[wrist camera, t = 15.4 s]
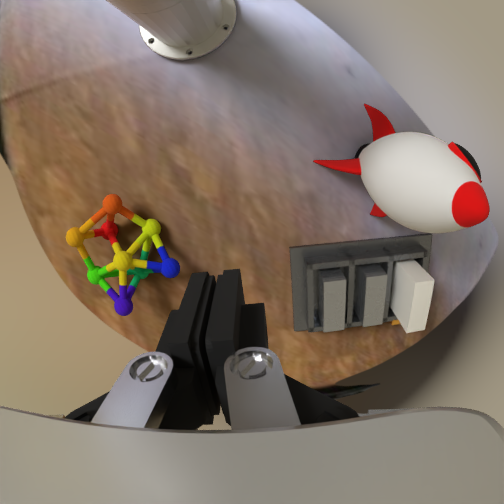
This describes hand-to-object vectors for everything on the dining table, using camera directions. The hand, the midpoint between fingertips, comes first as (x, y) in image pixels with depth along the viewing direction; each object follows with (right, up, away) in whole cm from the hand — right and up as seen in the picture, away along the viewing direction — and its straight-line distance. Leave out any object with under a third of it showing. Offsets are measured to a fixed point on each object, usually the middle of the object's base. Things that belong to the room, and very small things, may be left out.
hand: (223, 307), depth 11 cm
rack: (+18, -3, +36) cm, 40 cm away
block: (+24, -2, +35) cm, 42 cm away
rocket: (+17, +14, +29) cm, 36 cm away
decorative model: (-16, +3, +34) cm, 37 cm away
